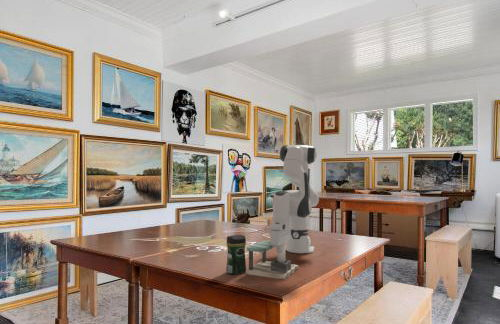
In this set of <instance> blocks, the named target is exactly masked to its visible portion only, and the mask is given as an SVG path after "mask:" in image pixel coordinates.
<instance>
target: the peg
mask: <svg viewBox="0 0 500 324" xmlns="http://www.w3.org/2000/svg"><path fill="white" fill-rule="evenodd" d="M285 242H286V239H285V240H284V243H283V244H281V250H282V253H280V254H279V253H277V252H276V253H277V258H276V259H277V263H285V260H286V250H285V248H286V247H285ZM286 243H287V242H286Z"/></svg>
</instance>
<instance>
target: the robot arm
mask: <svg viewBox="0 0 500 324" xmlns="http://www.w3.org/2000/svg"><path fill="white" fill-rule="evenodd" d="M317 153H318V152H317V150H316V148H315V146H311V145H305V144H304V145H303V144H292V145H291V144H290V145H288V144H286V145H283V146H281V147H280V149H279V158H280V161H282V162H283V166H282V171H283V174H284V176H285V177H286V178H287V179H289V180H290V182H291V184H292V185H293V186H295V187H298V189H299V190H298V189H297V190H295V189H293V190H292V189H290V190H279V191H276V192H274V193H273V199H272V212H273V214H272V221H271V223H270V224H269V225H268V226H269V230H270V231H269V232H270V233H269V237H270V238H269V239H270V240H269V241H270V242H271V245H272V246H275V247H276V253H279V254H280V253H282V250H281V244H283V243H284V240H285V239H286V242H285V251H287V252H288V253H292V254H293V253H294V254H312V253H314V250H315V246H313V245H312V239H311V238H310V236H309V228H308V216H309V215H310V214H311V213H312V207H317V205H318V204H319V202H320V197H319V194H318V193H317V191H315V190H314V189H313V188H312V187H311V185H310V179H309V164H314V162H315V161H316V159H317V155H318V154H317Z"/></svg>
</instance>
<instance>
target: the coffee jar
mask: <svg viewBox="0 0 500 324" xmlns="http://www.w3.org/2000/svg"><path fill="white" fill-rule="evenodd" d="M246 244H247V240H246V236H245V235H243V234H235V235H233V234H232V235H228V236H226V247H227V258H226V269H225V270H226V273H227V274H230V275H239V274H240V275H241V274H244V273H247V265H246V264H247V262H246V252H245V251H246Z"/></svg>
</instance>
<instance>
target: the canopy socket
mask: <svg viewBox="0 0 500 324" xmlns="http://www.w3.org/2000/svg"><path fill="white" fill-rule="evenodd" d="M275 247H276V246H272V245H271V242H270V240H261V241H259V242H256V243H254V244H252V245H251V244H250V245H249V246H247V247H246V251H247V252H248V269H247V268H246V274H247V275H251V276H259V277H265V278H271V279H272V278H273V279H279V280H284V281H285V280H287V279H288V278H289V277H290V276H291V275H293V274H294V273H295V272H296V271H297V270H299V264H292V260H291V259H290V260H288V259H285V263H277V258H276V259H274V260H272V261H267V251H270V250H271V249H273V248H275ZM254 252H256V253H261V257H262V258H261V261H259V262H258V263H257V264H254Z"/></svg>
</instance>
